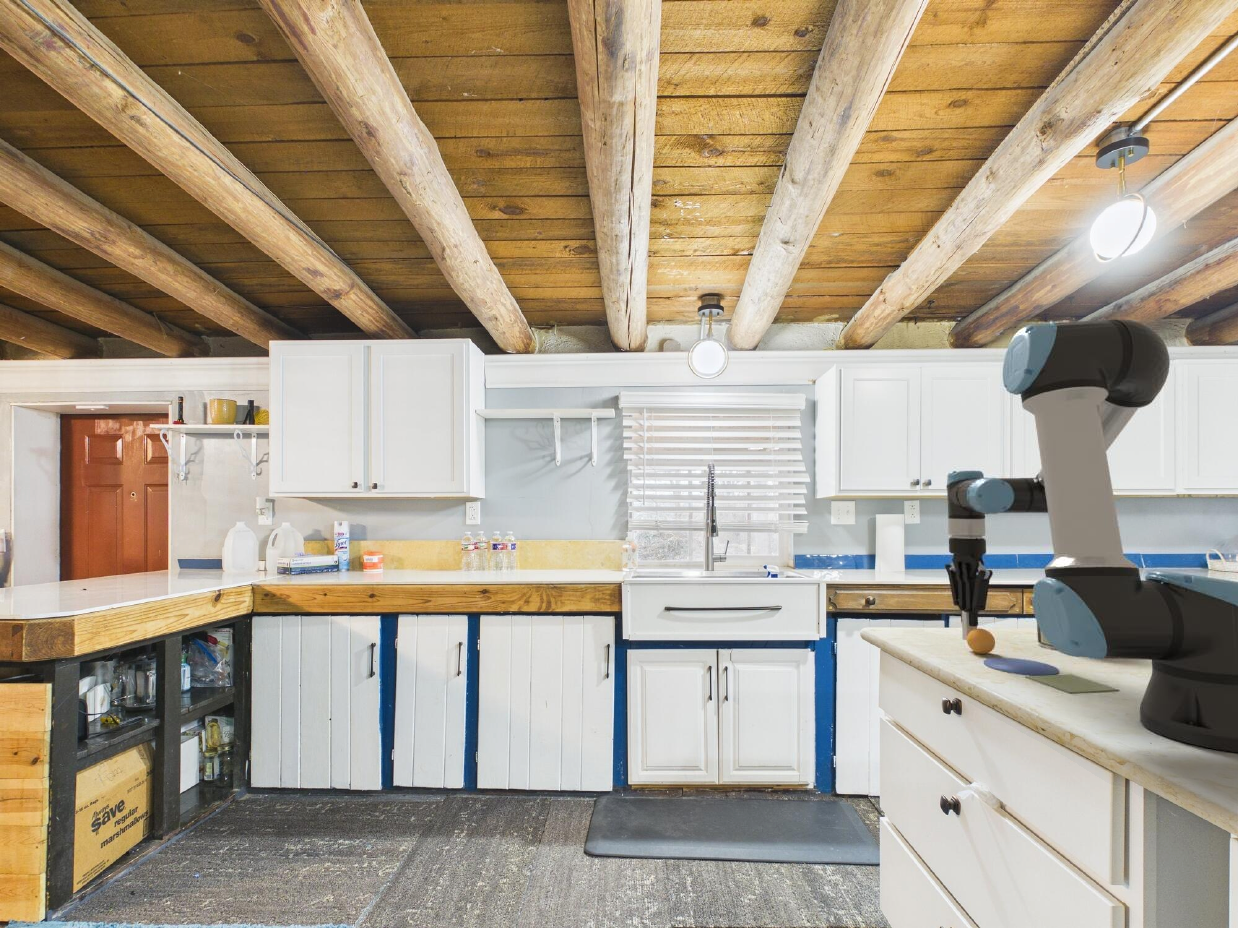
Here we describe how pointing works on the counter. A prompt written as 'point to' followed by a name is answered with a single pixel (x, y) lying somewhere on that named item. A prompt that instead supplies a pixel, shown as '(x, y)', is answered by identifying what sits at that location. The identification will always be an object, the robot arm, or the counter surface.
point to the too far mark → (1071, 683)
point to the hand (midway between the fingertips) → (970, 639)
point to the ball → (981, 641)
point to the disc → (1021, 666)
